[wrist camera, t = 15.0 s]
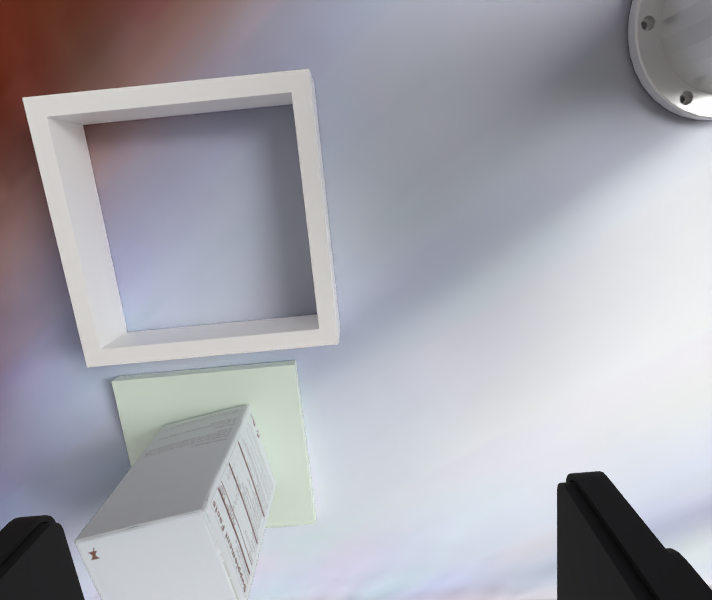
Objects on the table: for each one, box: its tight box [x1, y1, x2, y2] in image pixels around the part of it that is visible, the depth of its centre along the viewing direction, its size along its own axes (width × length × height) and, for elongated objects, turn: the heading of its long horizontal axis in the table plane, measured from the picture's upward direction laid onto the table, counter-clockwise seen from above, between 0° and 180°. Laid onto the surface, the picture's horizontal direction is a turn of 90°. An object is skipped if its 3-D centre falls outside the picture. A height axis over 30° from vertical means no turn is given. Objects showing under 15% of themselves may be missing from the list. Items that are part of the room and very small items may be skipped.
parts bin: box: [22, 69, 340, 367], centre depth 32 cm, size 17×17×4 cm
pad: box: [111, 360, 316, 528], centre depth 38 cm, size 14×14×1 cm
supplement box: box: [74, 404, 277, 600], centre depth 31 cm, size 7×7×13 cm
